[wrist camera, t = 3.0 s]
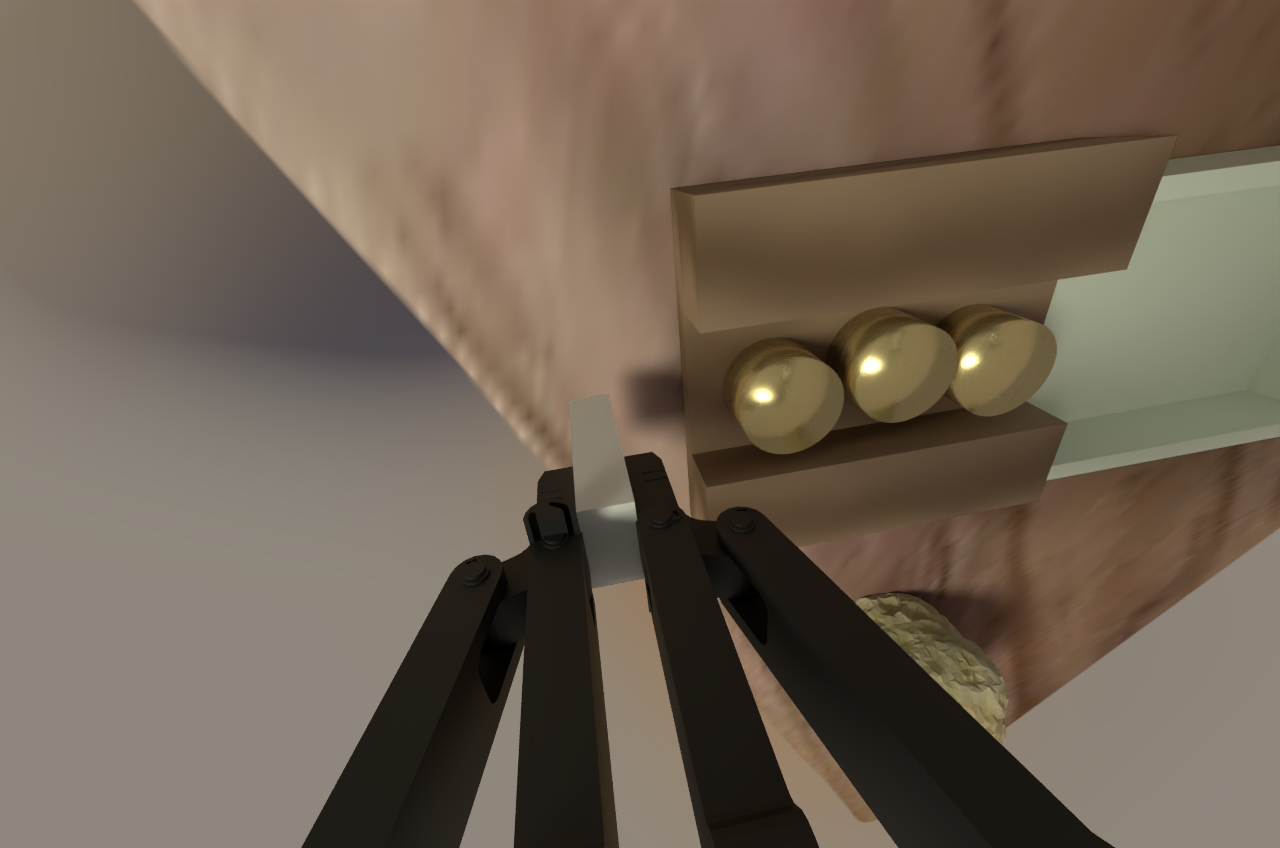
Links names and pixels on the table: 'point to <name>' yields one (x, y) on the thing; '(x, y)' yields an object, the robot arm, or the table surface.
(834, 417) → the chip
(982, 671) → the decorative object
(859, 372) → the chip
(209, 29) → the table surface
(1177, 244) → the tray
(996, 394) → the chip
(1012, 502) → the slot board
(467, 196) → the table surface
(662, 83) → the table surface
